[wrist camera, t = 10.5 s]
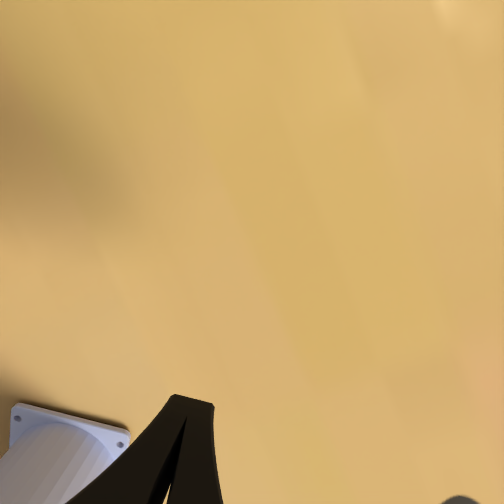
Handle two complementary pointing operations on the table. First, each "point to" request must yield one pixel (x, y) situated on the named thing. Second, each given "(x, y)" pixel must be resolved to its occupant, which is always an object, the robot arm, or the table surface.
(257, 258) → the table surface
